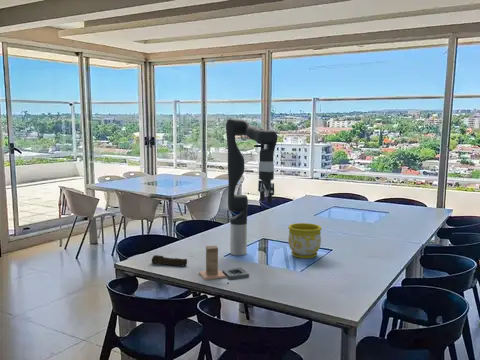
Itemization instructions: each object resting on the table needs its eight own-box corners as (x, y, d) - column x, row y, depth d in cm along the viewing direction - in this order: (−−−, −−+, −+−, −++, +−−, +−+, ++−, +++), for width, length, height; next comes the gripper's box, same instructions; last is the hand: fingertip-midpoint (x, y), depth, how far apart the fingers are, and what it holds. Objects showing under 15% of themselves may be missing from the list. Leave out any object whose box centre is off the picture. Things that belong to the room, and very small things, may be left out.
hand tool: (187, 265, 234) (187, 256, 233) (184, 267, 230) (184, 258, 229) (154, 262, 239) (154, 253, 238) (150, 264, 235) (150, 255, 235)
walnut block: (206, 272, 220) (206, 245, 218) (216, 271, 220) (216, 245, 219) (207, 275, 215) (207, 248, 213) (217, 274, 216) (217, 248, 214)
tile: (199, 273, 220) (198, 271, 220) (218, 271, 224) (218, 269, 224) (204, 280, 211) (204, 277, 211) (225, 277, 215) (225, 275, 215)
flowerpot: (284, 257, 247) (284, 228, 245) (292, 249, 264) (293, 221, 262) (316, 261, 241) (317, 231, 239) (323, 253, 258) (324, 224, 256)
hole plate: (222, 272, 222) (222, 269, 221) (241, 270, 225) (241, 267, 225) (229, 279, 212) (229, 276, 212) (249, 276, 216) (249, 273, 216)
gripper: (253, 169, 233) (253, 200, 235) (265, 171, 220) (264, 204, 222) (267, 168, 236) (266, 199, 238) (279, 171, 223) (278, 203, 225)
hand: (265, 202), depth 230 cm, fingers open, 8 cm apart
